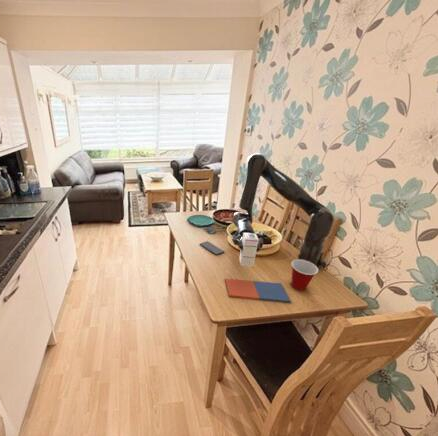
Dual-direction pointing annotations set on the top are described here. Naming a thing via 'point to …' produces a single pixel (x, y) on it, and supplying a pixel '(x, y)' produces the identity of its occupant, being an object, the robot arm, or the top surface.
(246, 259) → the syrup box
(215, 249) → the smartphone
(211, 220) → the teal oval plate
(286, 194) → the robot arm
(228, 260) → the top surface
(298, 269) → the plastic cup
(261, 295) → the mat
